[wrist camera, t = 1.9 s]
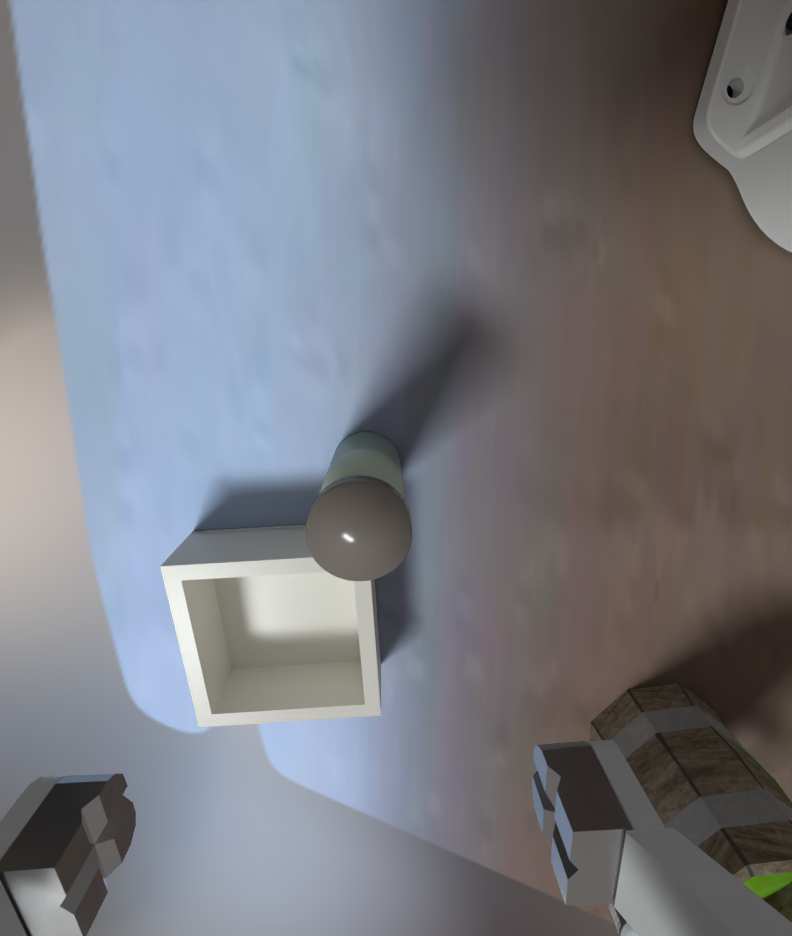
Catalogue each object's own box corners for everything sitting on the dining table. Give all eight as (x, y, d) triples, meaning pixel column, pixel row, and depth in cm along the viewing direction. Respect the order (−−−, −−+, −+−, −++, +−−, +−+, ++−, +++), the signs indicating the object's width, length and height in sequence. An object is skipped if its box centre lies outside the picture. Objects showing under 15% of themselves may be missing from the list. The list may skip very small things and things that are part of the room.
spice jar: (327, 432, 28) (299, 487, 18) (400, 428, 28) (410, 481, 18) (334, 499, 29) (311, 584, 20) (403, 495, 29) (414, 578, 20)
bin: (192, 531, 30) (160, 566, 25) (370, 520, 30) (368, 553, 25) (223, 674, 33) (199, 727, 29) (381, 664, 33) (380, 715, 29)
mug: (565, 717, 36) (652, 900, 24) (692, 661, 34) (847, 826, 23) (631, 831, 40) (730, 1032, 29) (746, 785, 39) (898, 977, 27)
